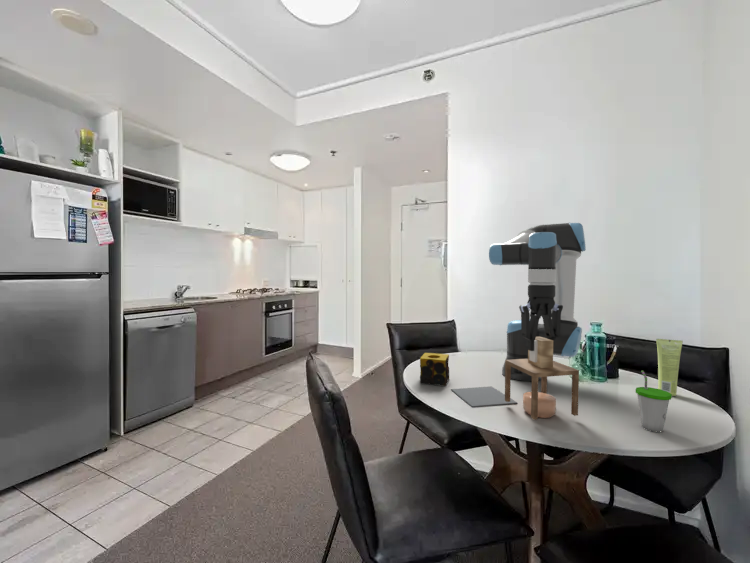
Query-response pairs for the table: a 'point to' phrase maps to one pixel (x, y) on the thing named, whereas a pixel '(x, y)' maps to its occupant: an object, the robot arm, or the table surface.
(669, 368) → the tube
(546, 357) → the wooden side table
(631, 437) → the table surface
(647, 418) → the cup
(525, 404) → the peach rounded disc
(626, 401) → the table surface
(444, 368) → the candle
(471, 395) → the mat
